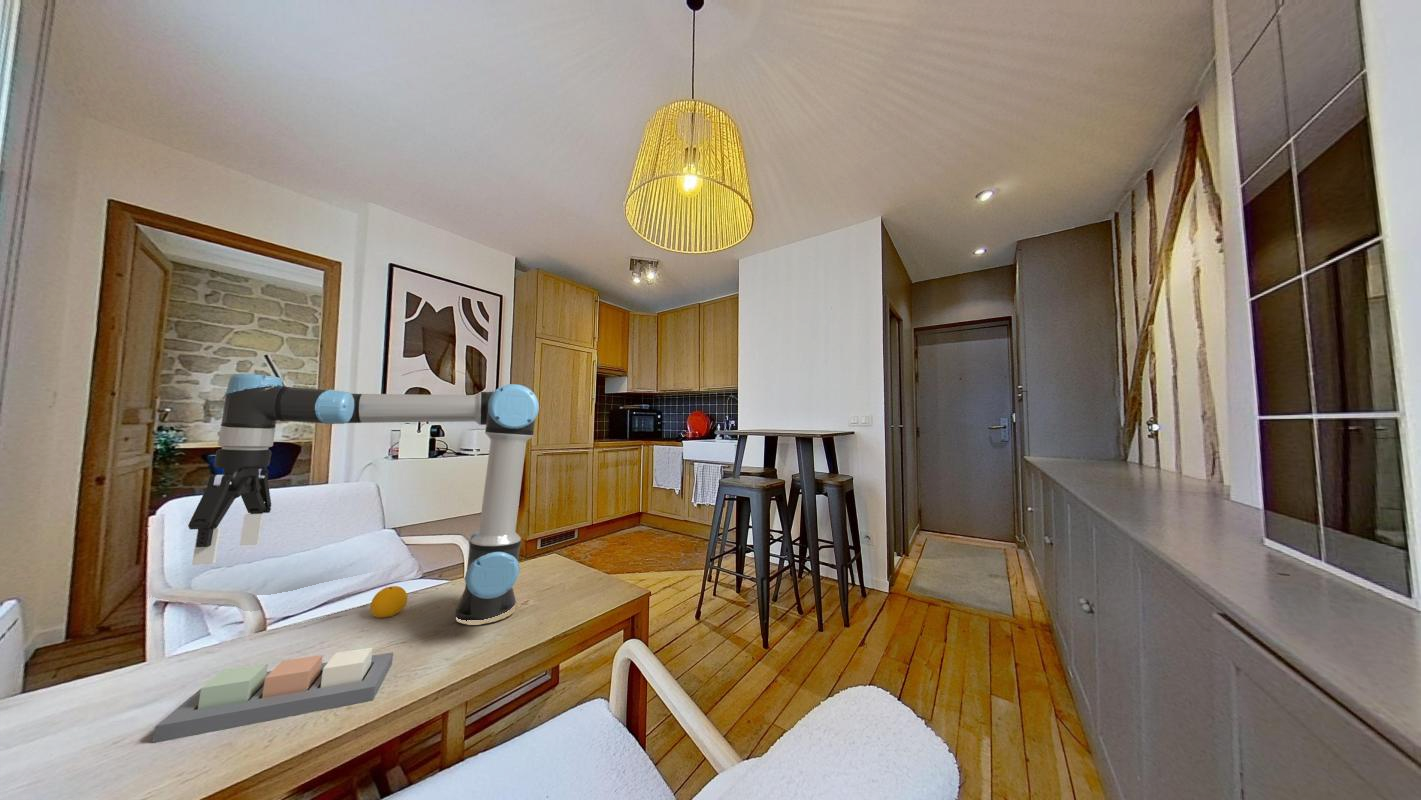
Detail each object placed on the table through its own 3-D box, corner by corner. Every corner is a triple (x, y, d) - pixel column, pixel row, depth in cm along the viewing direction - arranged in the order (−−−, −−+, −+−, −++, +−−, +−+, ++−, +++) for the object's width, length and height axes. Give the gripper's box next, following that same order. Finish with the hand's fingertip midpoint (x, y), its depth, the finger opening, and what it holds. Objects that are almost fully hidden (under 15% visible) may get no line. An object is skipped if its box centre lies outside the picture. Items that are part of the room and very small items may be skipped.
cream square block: (370, 664, 83) (372, 647, 84) (360, 681, 78) (363, 662, 78) (333, 671, 81) (335, 652, 81) (320, 688, 75) (323, 668, 76)
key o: (265, 682, 76) (268, 662, 77) (246, 701, 71) (249, 680, 71) (220, 689, 74) (223, 669, 74) (197, 709, 69) (201, 688, 69)
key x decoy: (320, 673, 80) (322, 654, 80) (306, 690, 75) (309, 671, 75) (279, 679, 77) (282, 660, 78) (262, 698, 72) (265, 677, 72)
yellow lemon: (409, 607, 115) (412, 580, 116) (401, 619, 108) (404, 590, 109) (374, 610, 112) (378, 583, 113) (364, 623, 105) (367, 593, 106)
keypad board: (391, 664, 88) (393, 652, 88) (373, 700, 76) (374, 686, 76) (208, 694, 76) (210, 680, 76) (152, 742, 64) (155, 726, 64)
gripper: (257, 445, 92) (242, 539, 90) (170, 450, 70) (147, 575, 68) (300, 446, 96) (286, 537, 94) (230, 452, 73) (210, 571, 71)
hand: (228, 553), depth 81 cm, fingers open, 13 cm apart
